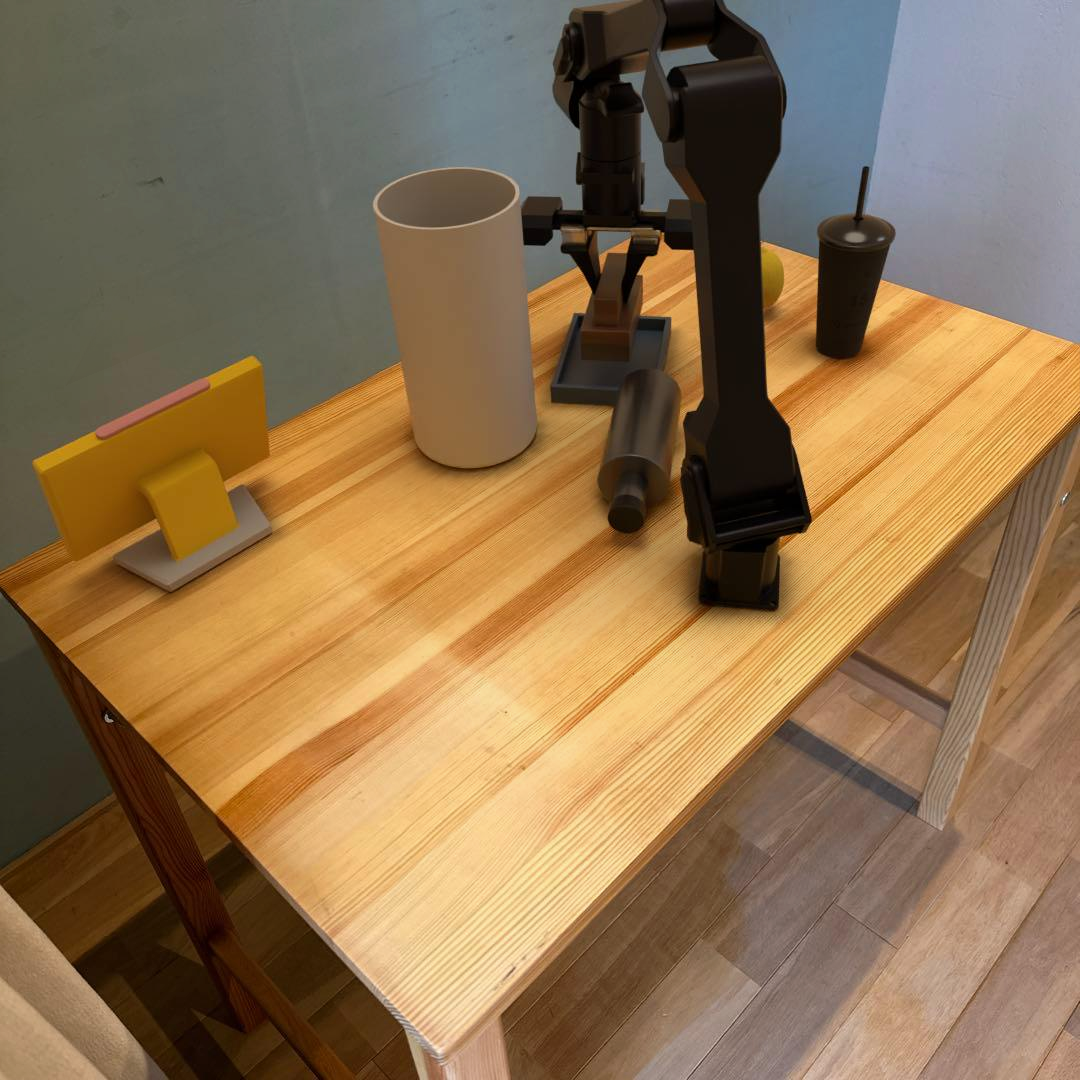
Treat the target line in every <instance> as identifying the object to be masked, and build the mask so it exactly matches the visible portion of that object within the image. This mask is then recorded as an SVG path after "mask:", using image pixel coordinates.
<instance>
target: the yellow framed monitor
mask: <svg viewBox="0 0 1080 1080" xmlns="http://www.w3.org/2000/svg"><path fill="white" fill-rule="evenodd" d="M264 377H265V376H264V366H263V364H262V363H261V362H260V361H259V360H258V359H257V358H256V357H255V356H254V355H250V356H248V357H246V358H243V359H241V360H239V361H237V362H235V363H233V364H231V365H229V366H227V367H225V368H223V369H221V370H219V371H217V372H214V373H212V374H210V375H208V376H206V377H204V378H199V379H197V380H195V381H193V382H191V383H189V384H187V385H184V386H182V387H180V388H179V389H176V390H174V391H172V392H170V393H168V394H166V395H164V396H161V397H159V398H158V399H156V400H153V401H151V402H149V403H147V404H145V405H143V406H141V407H139V408H137V409H135V410H132V411H130V412H129V413H127V414H124V415H122V416H120V417H118V418H116V419H114V420H112V421H110V422H108V423H106V424H103V425H100V426H99V427H98V428H96V429H95V430H94V431H92V432H90V433H88V434H86V435H83V436H82V437H80V438H77V439H75V440H73V441H72V442H69V443H67V444H65V445H63V446H61V447H59V448H56V449H54V450H53V451H51V452H48V453H46V454H44V455H42V456H40V457H38V458H36V459H34V460H33V461H32V463H31V465H32V467H33V469H34V472H35V473H36V477H37V480H38V482H39V484H40V487H41V489H42V492H43V495H44V496H45V499H46V503H47V505H48V508H49V510H50V512H51V515H52V517H53V520H54V522H55V525H56V527H57V530H58V533H59V535H60V537H61V540H62V543H63V546H64V548H65V550H66V552H67V554H68V555H69V556H70V557H71V559H72V560H73V561H74V562H80V561H81V560H83V559H85V558H87V557H89V556H90V555H92V554H94V553H96V552H97V551H99V550H101V549H103V548H105V547H107V546H109V545H111V544H112V543H114V542H115V541H117V540H120V539H122V538H123V537H125V536H127V535H129V534H131V533H133V532H134V531H136V530H138V529H140V528H142V527H144V526H145V525H147V524H149V523H151V522H153V521H154V520H156V521H157V523H158V526H159V528H160V529H157V530H156V531H155V532H153V533H151V534H149V535H146V536H145V537H143V538H142V539H140V540H138V541H136V542H135V543H133V544H130V545H129V546H127V547H125V548H124V549H122V550H120V551H119V552H116V553H115V554H113V555H112V558H113V560H114V562H115V564H117V565H118V566H120V567H122V568H124V569H126V570H128V571H129V572H131V573H134V574H135V575H137V576H139V577H140V578H143V579H144V580H147V581H148V582H150V583H152V584H154V585H156V586H157V587H159V588H162V589H163V590H165V591H167V592H170V593H172V592H174V591H175V590H177V589H179V588H180V587H182V586H184V585H185V584H187V583H189V582H191V581H192V580H194V579H196V578H197V577H199V576H201V575H202V574H204V573H206V572H208V571H209V570H211V569H213V568H214V567H216V566H218V565H220V564H221V563H223V562H225V561H226V560H228V559H229V558H231V557H233V556H235V555H236V554H238V553H240V552H241V551H243V550H245V549H247V548H249V547H250V546H252V545H254V544H255V543H257V542H259V541H260V540H262V539H264V538H265V537H267V536H269V535H271V534H272V533H273V528H272V525H271V523H270V521H269V519H267V517H266V515H265V514H264V513H263V510H262V509H261V508H260V506H259V505H258V503H257V502H256V500H255V499H254V497H253V496H252V494H251V493H250V491H249V490H248V488H247V487H246V486H245V484H240V485H238V486H236V487H234V488H232V489H231V490H229V491H227V489H226V486H225V482H227V481H228V480H230V479H231V478H233V477H235V476H238V475H239V474H241V473H243V472H245V471H246V470H249V469H250V468H252V467H253V466H256V465H257V464H259V463H260V462H263V461H264V460H267V459H268V458H269V457H271V452H270V450H271V449H270V439H269V427H268V414H267V403H266V401H267V400H266V389H265V388H266V387H265V378H264Z"/></svg>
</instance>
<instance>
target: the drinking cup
mask: <svg viewBox="0 0 1080 1080" xmlns="http://www.w3.org/2000/svg"><path fill="white" fill-rule="evenodd" d="M870 169H871V167H870V166H869V165H868V166H867V165H865V166H864V165H863V167H862V168H861V174H860V182H859V188H858V194H857V201H856V208H855V212H849V213H843V214H835V215H832V216H829V217H827V218H825V219H823V220H822V221H821V222H820V223H819V224H818V225H817V228H816V235H817V238H818V262H817V263H818V264H817V265H818V267H817V294H816V295H817V296H816V320H815V321H816V323H815V324H816V326H815V349H816V350H817V352H818V353H819V354H821V355H822V356H825V357H827V358H831V359H836V360H844V359H845V360H846V359H850V358H853V357H856V356H857V355H858V354H860V352H861V350H862V347H863V343H864V340H865V336H866V333H867V329H868V325H869V321H870V318H871V315H872V311H873V308H874V304H875V300H876V297H877V294H878V290H879V287H880V282H881V280H882V276H883V272H884V269H885V266H886V261H887V258H888V255H889V251H890V247H891V244H892V243H893V242H894V241H895V238H896V234H897V231H896V228H895V227H894V225H893V224H892V223H890V222H889V221H887V220H885V219H884V218H882V217H881V218H880V217H878V216H874V215H872V214H869V213H863V212H864V207H865V200H866V195H867V189H868V182H869V175H870V171H871V170H870Z"/></svg>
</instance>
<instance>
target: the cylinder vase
mask: <svg viewBox="0 0 1080 1080" xmlns="http://www.w3.org/2000/svg"><path fill="white" fill-rule="evenodd" d="M372 204H373V205H372V207H373V212H374V218H375V223H376V229H377V235H378V241H379V246H380V247H379V248H380V252H381V258H382V264H383V269H384V274H385V280H386V285H387V286H386V287H387V291H388V296H389V302H390V307H391V314H392V319H393V326H394V330H395V331H394V332H395V336H396V340H397V342H396V343H397V347H398V353H399V358H400V365H401V370H402V375H403V381H404V387H405V392H406V397H407V404H408V408H409V414H410V421H411V424H412V425H411V426H412V431H413V437H414V440H415V443H416V445H417V447H418V449H419V450H420V452H422V453H423V454H424V455H425V456H427V458H429V459H430V460H432V461H434V462H435V463H439V464H441V465H444V466H448V467H453V468H457V469H458V468H459V469H479V468H480V469H481V468H487V467H491V466H495V465H498V464H501V463H503V462H506V461H509V460H511V459H512V458H515V457H516V456H517V455H519V454H521V453H522V452H524V450H525V449H527V447H528V446H529V445H530V444H531V442H532V441H533V439H534V437H535V434H536V432H537V428H538V417H537V404H536V403H537V402H536V391H535V390H536V389H535V380H534V379H535V378H534V365H533V364H534V363H533V352H532V351H533V350H532V338H531V337H532V336H531V324H530V310H529V300H528V299H529V298H528V285H527V273H526V272H527V271H526V259H525V258H526V257H525V245H524V244H523V231H522V218H521V205H522V203H521V194H520V187H519V185H518V183H517V182H516V181H515V180H514V179H513V178H511V177H510V176H508V175H506V174H503V173H501V172H498V171H495V170H492V169H487V168H482V167H481V168H479V167H468V166H460V167H459V166H458V167H457V166H453V167H452V166H451V167H444V168H443V167H442V168H434V169H429V170H424V171H420V172H419V171H418V172H415V173H411V174H409V175H406V176H403V177H401V178H399V179H397V180H394V181H392V182H391V183H389V184H387V185H386V186H385V187H383V188H382V189H381V190H380V191H379V192H378V193H377V194H376V195H375V196H374V198H373V202H372Z"/></svg>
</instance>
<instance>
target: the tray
mask: <svg viewBox="0 0 1080 1080" xmlns="http://www.w3.org/2000/svg"><path fill="white" fill-rule="evenodd" d="M585 313H586V312H573V314H572V318H571V320H570V323H569V327H568V330H567V333H566V335H565V339H564V342H563V345H562V348H561V352H560V355H559V358H558V361H557V365H556V367H555V371H554V374H553V376H552V380H551V383H550V386H549V390H550V391H549V392H550V402H551V403H558V404H560V403H561V404H573V405H574V404H577V405H578V404H579V405H592V406H593V405H594V406H610V407H611V406H612V407H614V405H615V400H616V396H617V392H618V387H619V385H620V383H621V381H622V380H623V379H624V378H625V377H626V376H627V375H628V374H630V373H632V372H633V371H636V370H640V369H657V370H660V371H663V372H665V368H666V363H667V357H668V351H669V346H670V340H671V335H672V318H673V317H672V316H660V315H658V316H657V315H656V316H655V315H640V318H639V323H638V327H637V331H636V336H635V340H634V345H633V349H632V354H631V358H630V362H617V361H596V360H581V338H580V329H581V326H582V323H583V319H584V316H585Z"/></svg>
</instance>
